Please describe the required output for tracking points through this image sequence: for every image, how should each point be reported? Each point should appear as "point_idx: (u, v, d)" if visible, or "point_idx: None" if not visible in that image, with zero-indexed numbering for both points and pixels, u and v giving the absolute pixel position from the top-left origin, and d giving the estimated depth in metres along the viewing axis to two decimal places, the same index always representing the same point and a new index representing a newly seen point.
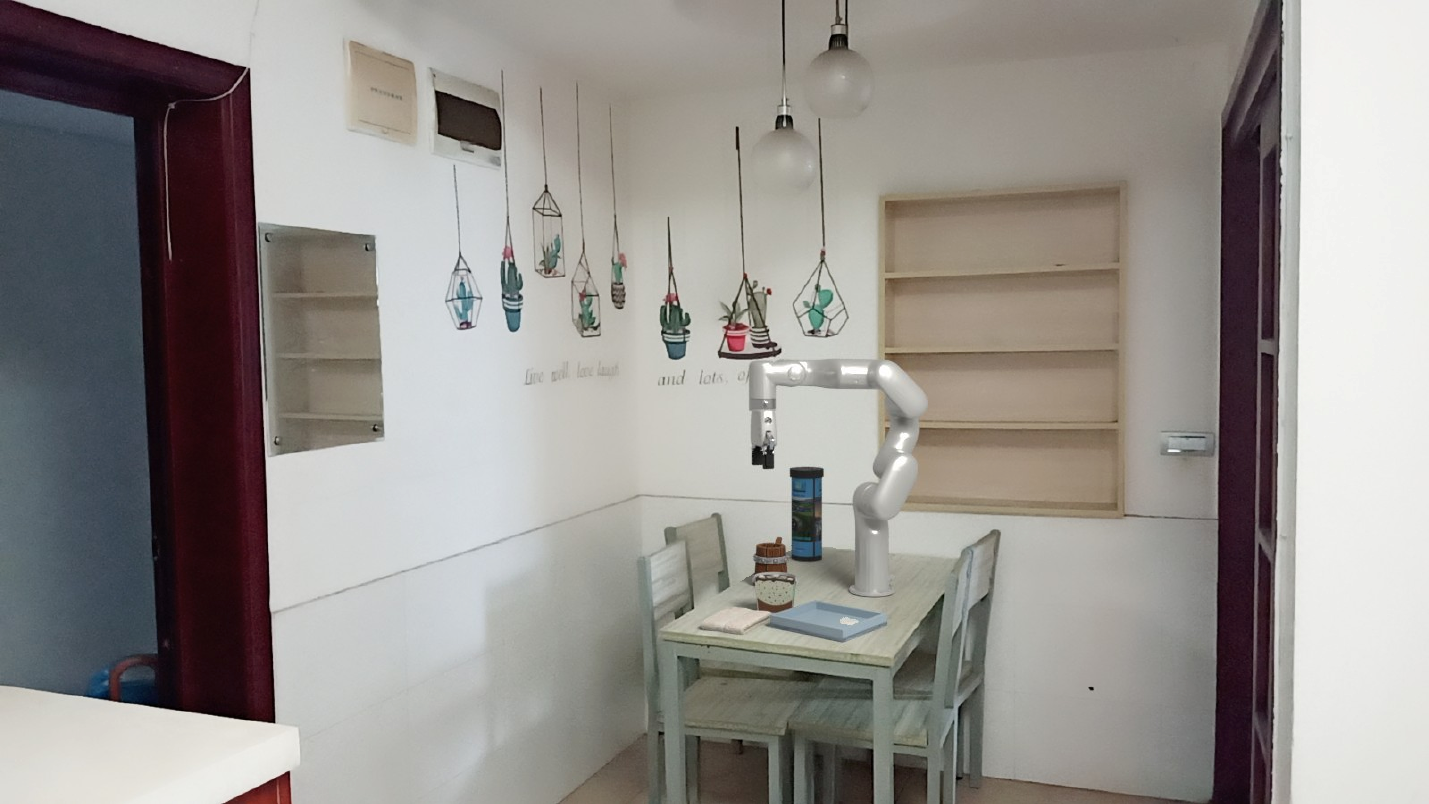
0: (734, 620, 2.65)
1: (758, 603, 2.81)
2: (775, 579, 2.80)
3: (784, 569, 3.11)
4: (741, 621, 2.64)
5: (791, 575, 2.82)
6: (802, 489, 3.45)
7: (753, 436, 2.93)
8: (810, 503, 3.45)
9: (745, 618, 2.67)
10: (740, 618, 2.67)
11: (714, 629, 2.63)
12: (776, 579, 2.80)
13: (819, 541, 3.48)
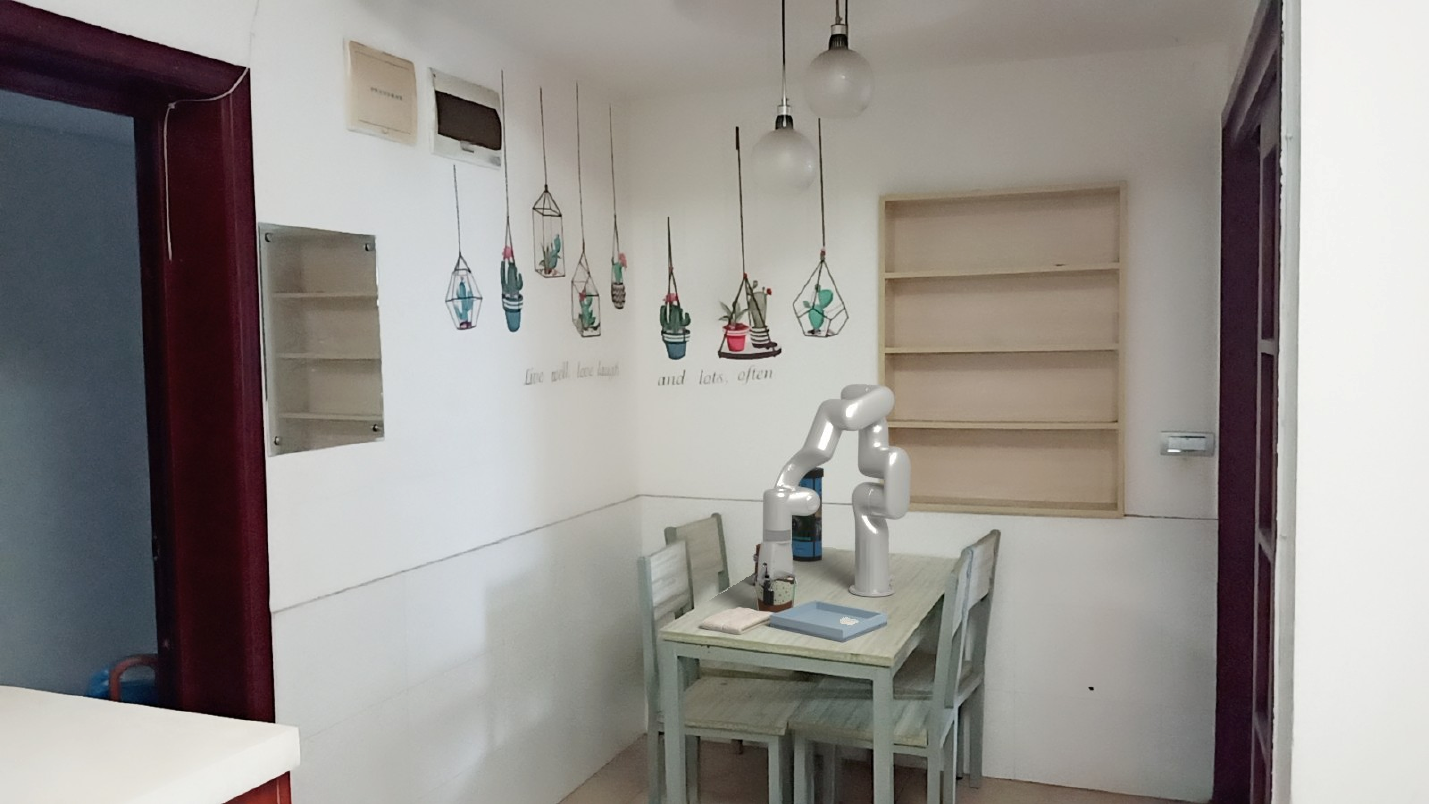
0: (734, 620, 2.65)
1: (758, 603, 2.82)
2: None
3: None
4: (741, 621, 2.64)
5: (791, 575, 2.82)
6: None
7: (780, 569, 2.80)
8: None
9: (746, 618, 2.67)
10: (741, 618, 2.67)
11: (713, 628, 2.64)
12: (776, 579, 2.80)
13: (819, 541, 3.48)
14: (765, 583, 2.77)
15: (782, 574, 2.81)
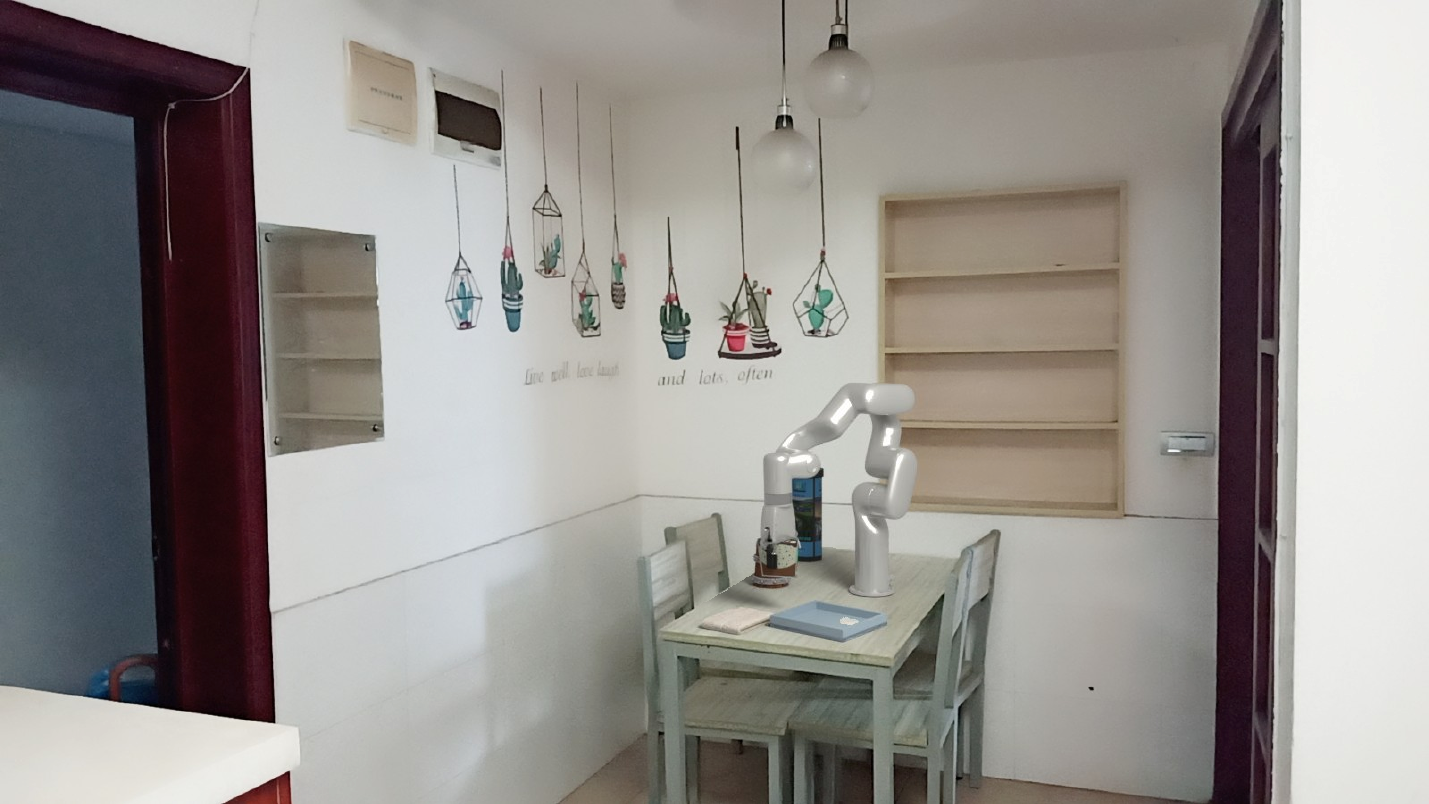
0: (734, 620, 2.65)
1: (762, 567, 2.82)
2: None
3: None
4: (741, 621, 2.64)
5: (794, 538, 2.82)
6: (802, 489, 3.45)
7: (783, 533, 2.80)
8: (810, 503, 3.45)
9: (746, 618, 2.67)
10: (741, 618, 2.67)
11: (713, 628, 2.64)
12: None
13: (819, 541, 3.48)
14: (768, 547, 2.77)
15: (785, 537, 2.81)
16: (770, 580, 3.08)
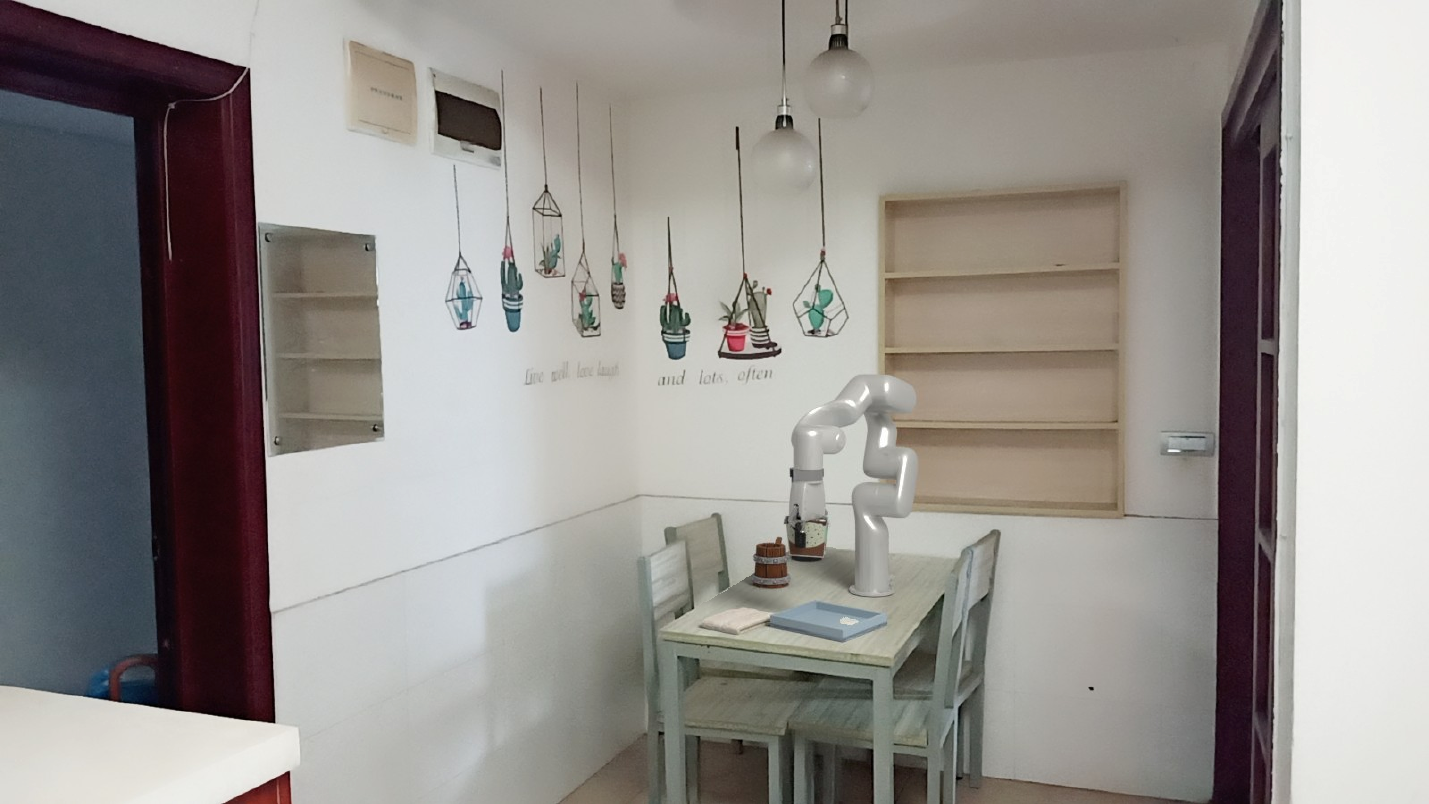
0: (734, 620, 2.65)
1: (789, 545, 2.72)
2: None
3: (784, 569, 3.11)
4: (740, 621, 2.64)
5: (824, 517, 2.72)
6: None
7: (812, 511, 2.69)
8: None
9: (746, 618, 2.67)
10: (741, 618, 2.67)
11: (713, 628, 2.64)
12: None
13: None
14: (796, 524, 2.67)
15: (814, 516, 2.70)
16: (770, 580, 3.08)
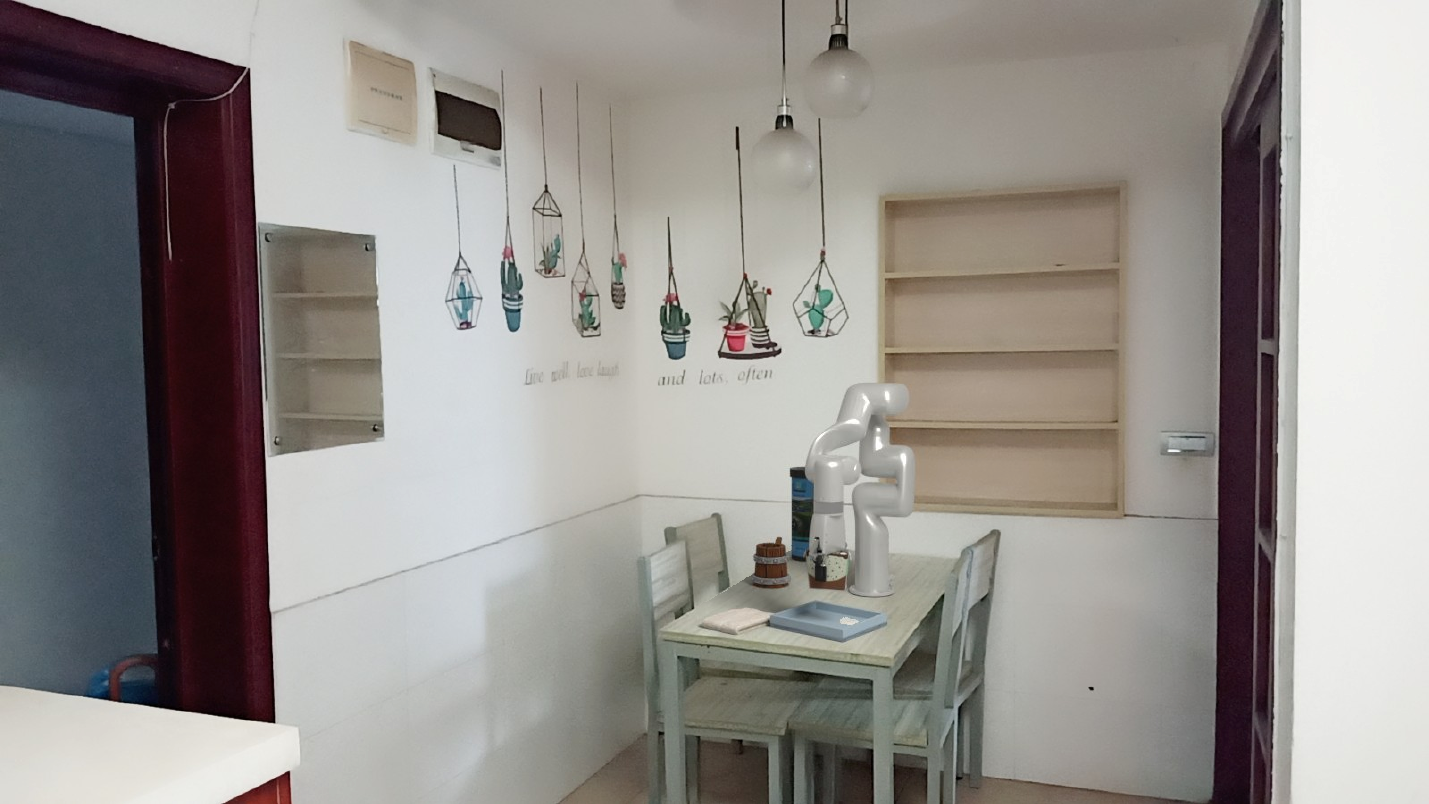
0: (734, 620, 2.65)
1: (809, 579, 2.66)
2: None
3: (784, 569, 3.11)
4: (740, 621, 2.64)
5: (844, 550, 2.67)
6: (802, 489, 3.45)
7: (833, 544, 2.64)
8: (810, 503, 3.45)
9: (746, 619, 2.67)
10: (741, 618, 2.67)
11: (712, 628, 2.65)
12: None
13: None
14: (818, 558, 2.62)
15: (835, 548, 2.65)
16: (770, 580, 3.08)
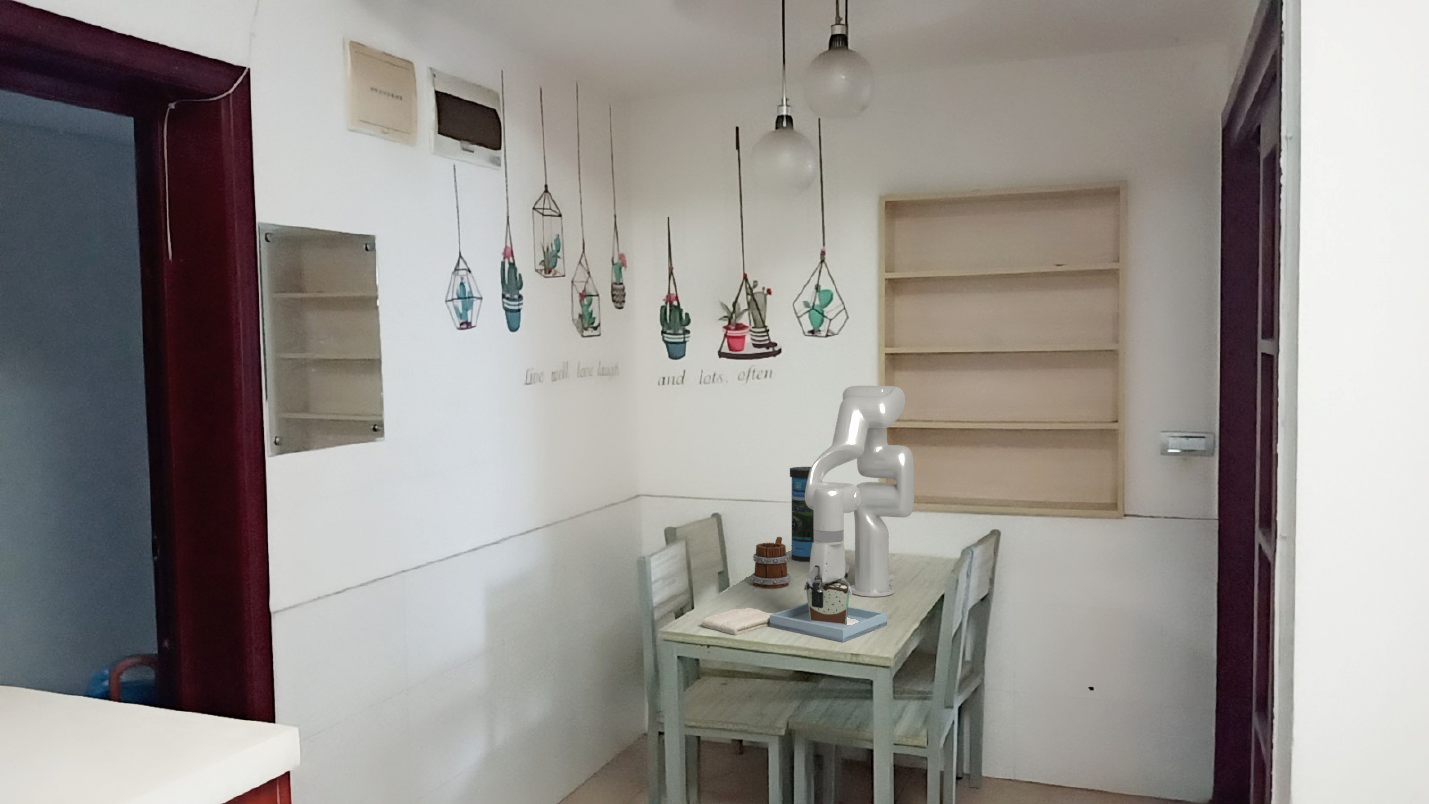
0: (734, 620, 2.65)
1: (810, 612, 2.68)
2: (827, 587, 2.65)
3: (784, 569, 3.11)
4: (740, 622, 2.64)
5: (845, 582, 2.68)
6: (802, 489, 3.45)
7: (833, 572, 2.64)
8: None
9: (746, 619, 2.66)
10: (742, 618, 2.67)
11: (712, 627, 2.65)
12: (828, 587, 2.65)
13: None
14: (814, 584, 2.61)
15: (835, 577, 2.65)
16: (770, 580, 3.08)
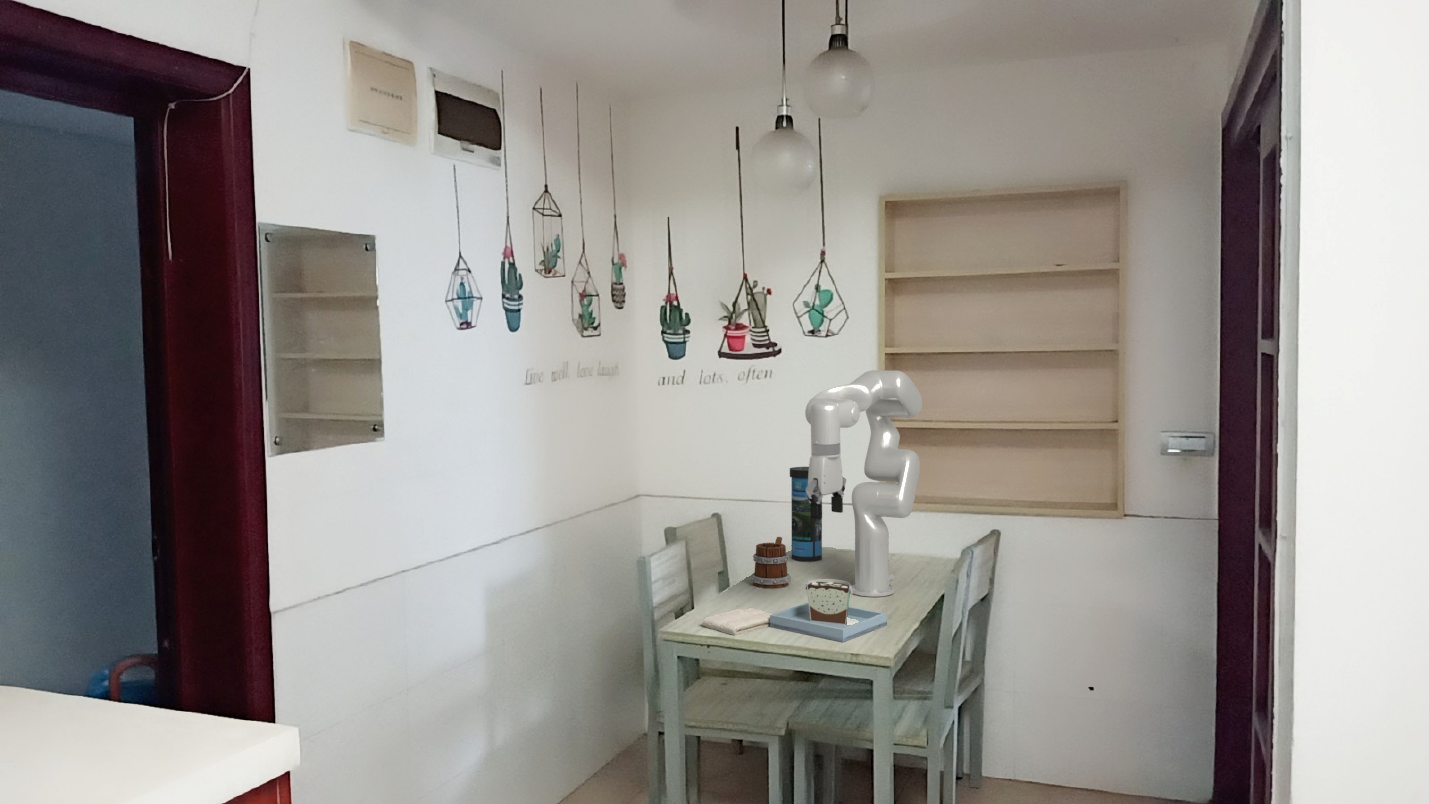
0: (733, 620, 2.65)
1: (811, 611, 2.68)
2: (828, 587, 2.66)
3: (784, 569, 3.11)
4: (739, 622, 2.64)
5: (846, 583, 2.68)
6: (802, 489, 3.45)
7: (831, 484, 2.72)
8: None
9: (747, 619, 2.66)
10: (742, 619, 2.66)
11: (712, 627, 2.65)
12: (829, 587, 2.66)
13: (819, 541, 3.48)
14: (813, 496, 2.69)
15: (833, 489, 2.73)
16: (770, 580, 3.08)
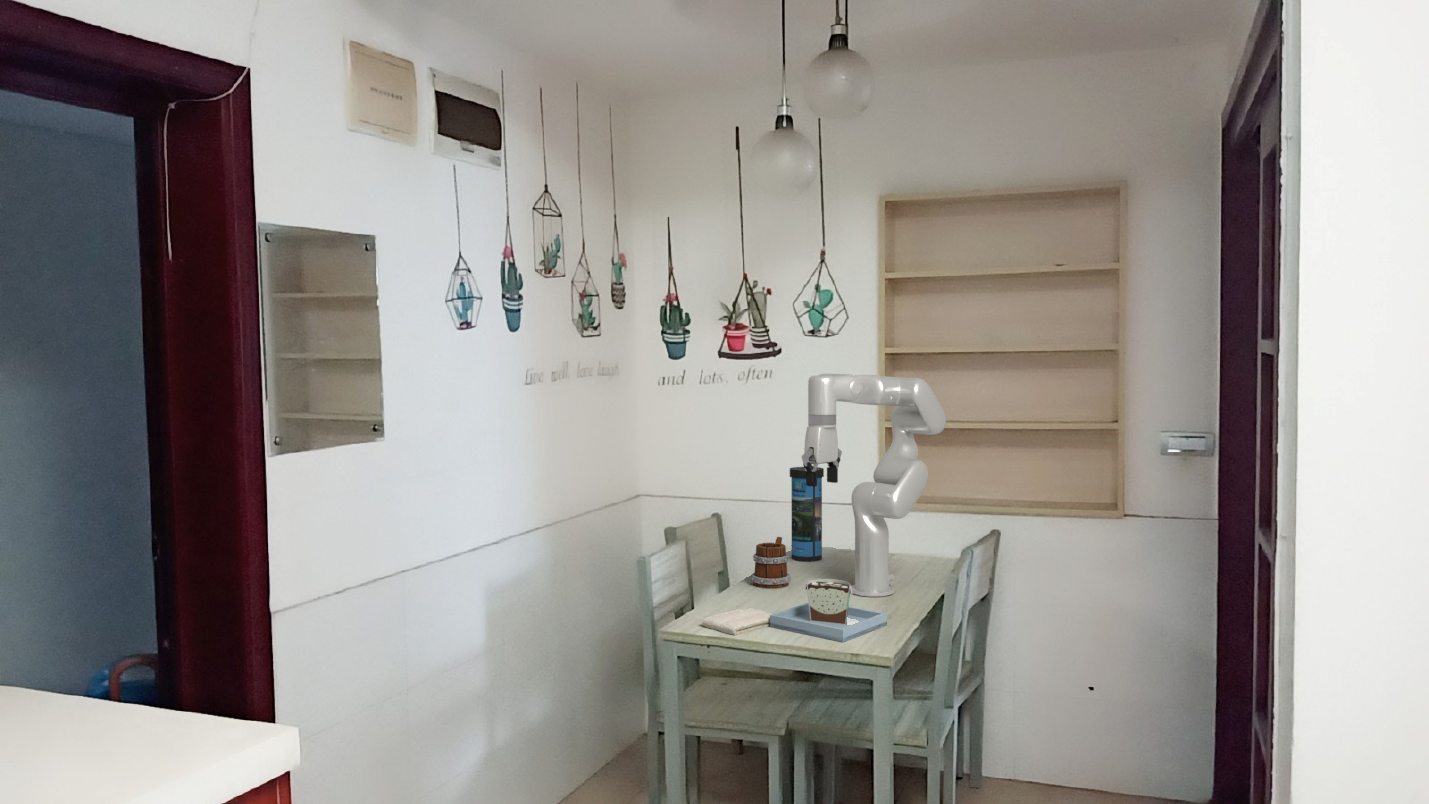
0: (733, 620, 2.65)
1: (811, 611, 2.68)
2: (828, 587, 2.66)
3: (784, 569, 3.11)
4: (739, 622, 2.64)
5: (846, 583, 2.68)
6: (802, 489, 3.45)
7: (826, 454, 2.83)
8: (810, 503, 3.45)
9: (746, 619, 2.66)
10: (742, 619, 2.67)
11: (712, 627, 2.65)
12: (829, 587, 2.66)
13: (819, 541, 3.48)
14: (809, 463, 2.80)
15: (828, 458, 2.84)
16: (770, 580, 3.08)
